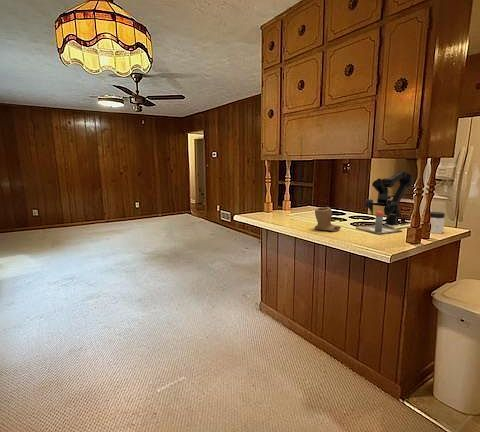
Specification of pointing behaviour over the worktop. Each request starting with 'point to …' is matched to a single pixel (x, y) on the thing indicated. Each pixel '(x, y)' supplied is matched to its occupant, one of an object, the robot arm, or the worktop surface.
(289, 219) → the worktop surface
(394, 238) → the worktop surface
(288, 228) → the worktop surface
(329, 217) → the brown boot-shaped piece
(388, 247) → the worktop surface
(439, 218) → the jar
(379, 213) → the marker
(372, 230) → the brown framed square board
